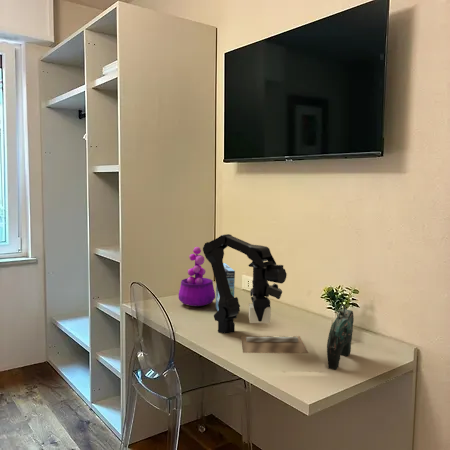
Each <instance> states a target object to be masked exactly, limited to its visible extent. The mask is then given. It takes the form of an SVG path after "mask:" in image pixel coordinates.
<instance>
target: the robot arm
mask: <svg viewBox="0 0 450 450" xmlns="http://www.w3.org/2000/svg"><path fill="white" fill-rule="evenodd" d="M227 248H230V249H233V250H236V251H238V252H240V253H242V254H244V255H246V257H247V259H249V260H250V261H251V262H250V263H249V264H248V265H247V266H248V267H251V268H252V270H253V271H252V280H251V281H252V282H251V283H252V288H251V289H250V290H249V291H250V292H249V293H250V294H249V295H250V299H251V301H252V302H251V303H253V307H254V310H255V312H256V315H257V318H258V321H262V318H263V314H264V310H265V309H266V308H267V307H271V300H270V299H269V296H271V297H272V298H275V299H277V300H280V299H281V297H282V293H283V291H282V289H281V288H279V285H278V284H284V282H285V281H286V279H287V276H288V273H287V272H286V269H285V268H284V265H283V264H277V262H276V259H274V257H273V255H272V253H271V250H270V248H269V246H265V245H260V244H252V243H249V242H247V241H245V240H243V239H241V238H238V237H236V236H233V235H232V234H227V233H226V234H221V235H220V236H219V237H217V238H215V239H213V240H211V241H206V242H204V244H203V246H202V252H203V254H204V256H205V257H204V258H205V259H206V260H207V261H208V262H209V263H210V265H211V268H212V273H213V276H214V281H215V286H216V285H217V288H218V292H219V296H220V299H219V303H218V308H219V310H218V311H217V312H215V313H214V314H213V318H214V321H215V322H217V332H218V333H220V334H231V333H235V331H236V329H235V324H236V323H235V322H234V319H237V318H238V314H239V313H240V310H241V309H240V307H241V305H240V302H239V298H238V297H237V296H236V297H235V296H234V297H233V295H232V294H231V291H230V287H229V284H228V280H227V276H226V272H225V268H224V265H223V263H224V261H223V260H224V255H225V251H224V250H225V249H227ZM269 282H272V283H273V284H270V283H269Z"/></svg>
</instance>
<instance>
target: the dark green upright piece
mask: <svg viewBox="0 0 450 450" xmlns="http://www.w3.org/2000/svg"><path fill="white" fill-rule="evenodd" d="M342 308H343V309H342ZM337 311H338V313H337V316H336V318H335V320H334V321H333V322H332V323H331V326H330V329H329V332H328V336H327V337H328V338H327V344H326V355H327V366H328V369H329V370H335V371H336V370H338V369H339V365H340V360H341V356H343V357H349V355H351V351H352V340H353V331H354V327H353V326H354V318H355V317H354V311H353V310H351V309H347V307H346V305H345V304H343V303H342V304H341V305H340V310H339V309H338V310H337Z"/></svg>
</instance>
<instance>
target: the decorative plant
mask: <svg viewBox="0 0 450 450" xmlns="http://www.w3.org/2000/svg"><path fill="white" fill-rule="evenodd" d="M192 250H193V253H191V254H189V257H188V258H189V260H190V261H191V262H192V261H194V266H193V267H191V268H188V270H187V274H188V275H189V277H187V278H183V279H181V282H180V286H179V289H178V299H179V301H180V302H181V303H182V304H184V305H186V306H190V307H202V306H206V305H209V304H212V303H213V301H215V300H216V290H215V289H214V283H213V280H212V279H211V278H207V277H204V275H205V274H206V269H205V268H204V267H202V265H203V264H204V262H205V257H204V256H203V255H200V254H201V252H202V250H201V247H199V246H195V247H194V248H193V249H192Z"/></svg>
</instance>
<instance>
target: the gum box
mask: <svg viewBox="0 0 450 450" xmlns="http://www.w3.org/2000/svg"><path fill="white" fill-rule="evenodd" d="M223 265H224V268H225V272H226V276H227V280H228V284H229V287H230V291H231V294H232V295H233V297H234V298H235V280H236V279H235V278H236V270H234V269H233V268H232V267H231V266H230V265H228V264H227V263H224V262H223ZM219 299H220V296H219V292H218V288H217V285H216V284H215V309H216V311H217V312H218V310H219V308H218V303H219Z"/></svg>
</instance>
